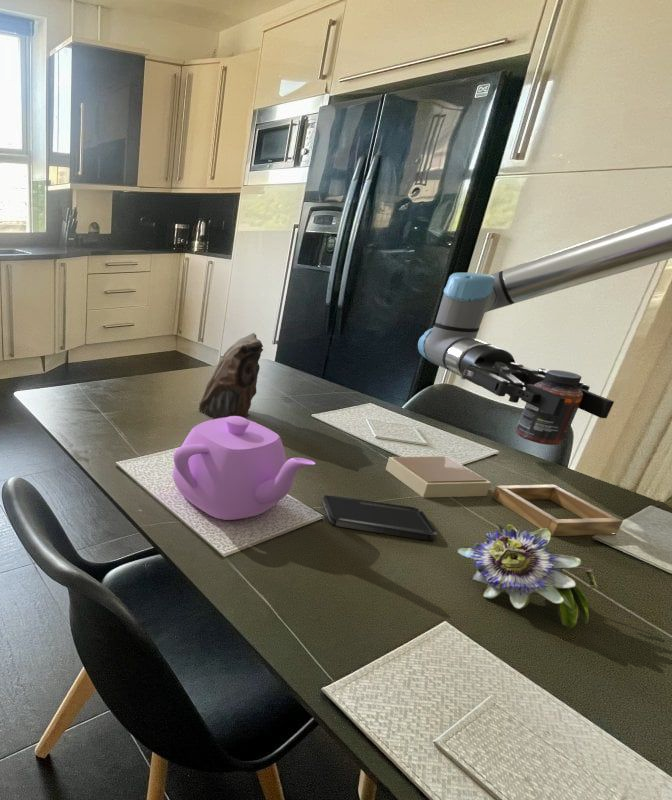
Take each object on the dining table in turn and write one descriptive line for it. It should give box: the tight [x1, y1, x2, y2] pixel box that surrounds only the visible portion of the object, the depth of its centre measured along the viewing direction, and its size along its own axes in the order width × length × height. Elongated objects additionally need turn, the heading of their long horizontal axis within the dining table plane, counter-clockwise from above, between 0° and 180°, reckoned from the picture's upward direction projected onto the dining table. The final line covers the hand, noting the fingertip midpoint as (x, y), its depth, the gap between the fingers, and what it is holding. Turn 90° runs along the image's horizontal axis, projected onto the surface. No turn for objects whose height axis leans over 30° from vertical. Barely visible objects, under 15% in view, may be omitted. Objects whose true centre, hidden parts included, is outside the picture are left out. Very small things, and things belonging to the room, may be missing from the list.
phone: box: [321, 494, 438, 542], centre depth 79 cm, size 8×1×15 cm
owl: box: [198, 332, 264, 419], centre depth 115 cm, size 13×13×20 cm
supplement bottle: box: [515, 369, 583, 446], centre depth 78 cm, size 6×6×11 cm
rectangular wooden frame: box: [491, 483, 623, 537], centre depth 81 cm, size 11×11×2 cm
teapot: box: [172, 416, 316, 521], centre depth 79 cm, size 23×21×15 cm
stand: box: [385, 455, 492, 499], centre depth 90 cm, size 12×10×3 cm
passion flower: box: [456, 522, 598, 629], centre depth 63 cm, size 11×11×12 cm
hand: (583, 408), depth 72 cm, fingers closed on supplement bottle, 6 cm apart
